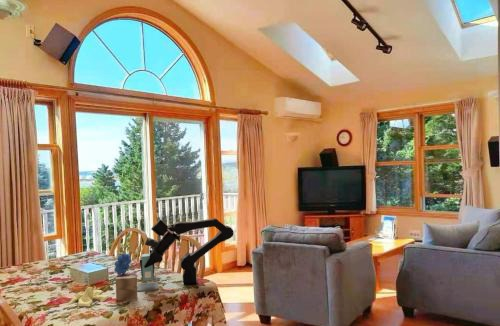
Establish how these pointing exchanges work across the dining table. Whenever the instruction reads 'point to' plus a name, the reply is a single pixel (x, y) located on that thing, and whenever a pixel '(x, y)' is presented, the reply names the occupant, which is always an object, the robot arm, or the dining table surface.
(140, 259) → the coffee mug
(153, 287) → the slate coaster
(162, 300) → the dining table surface
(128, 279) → the walnut screen
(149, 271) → the letter block
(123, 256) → the grapes
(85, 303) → the cloth
